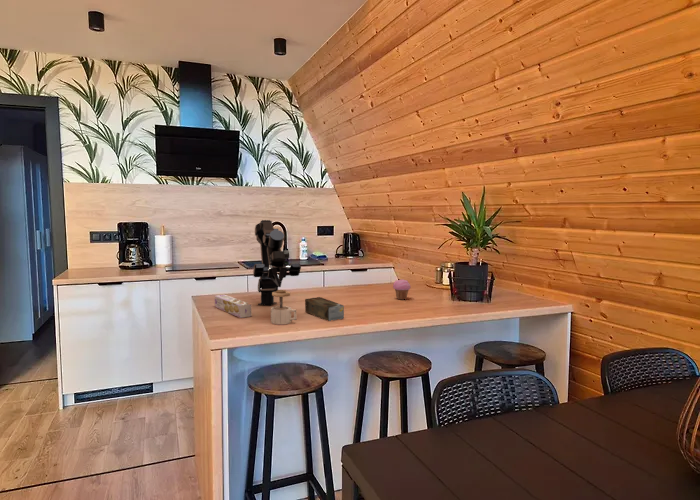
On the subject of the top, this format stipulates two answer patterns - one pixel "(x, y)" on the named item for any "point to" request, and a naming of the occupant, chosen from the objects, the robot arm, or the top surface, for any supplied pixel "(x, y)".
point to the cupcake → (401, 288)
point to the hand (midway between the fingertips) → (279, 286)
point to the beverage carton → (324, 308)
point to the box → (233, 306)
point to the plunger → (281, 295)
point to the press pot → (282, 315)
